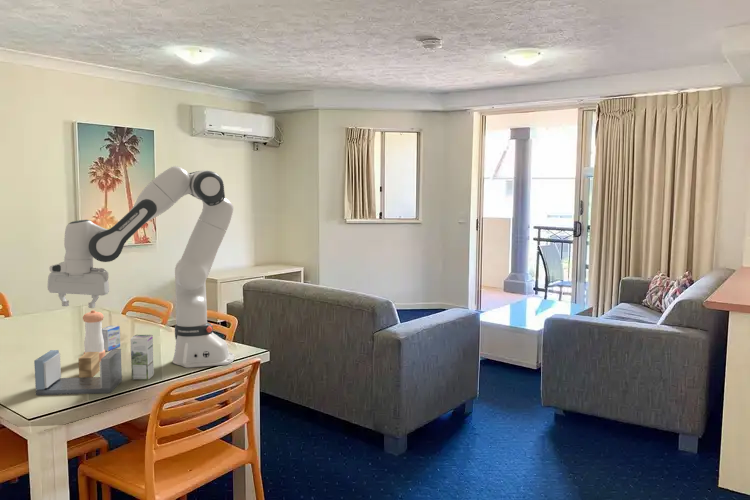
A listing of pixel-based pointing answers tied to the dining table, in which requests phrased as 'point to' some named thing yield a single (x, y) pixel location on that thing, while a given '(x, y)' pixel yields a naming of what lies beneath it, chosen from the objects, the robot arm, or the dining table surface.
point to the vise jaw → (47, 369)
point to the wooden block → (89, 364)
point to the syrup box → (142, 357)
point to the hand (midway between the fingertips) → (78, 306)
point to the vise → (90, 379)
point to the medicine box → (111, 337)
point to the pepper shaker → (94, 333)
